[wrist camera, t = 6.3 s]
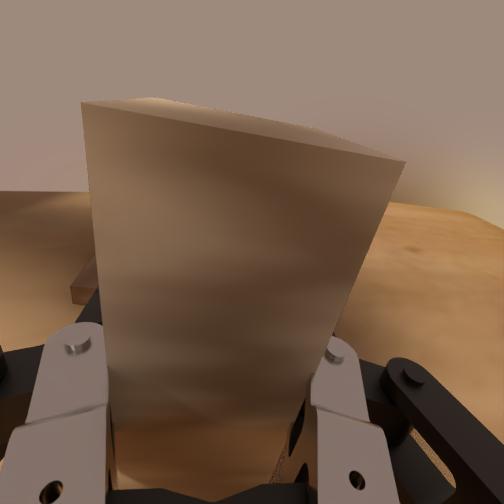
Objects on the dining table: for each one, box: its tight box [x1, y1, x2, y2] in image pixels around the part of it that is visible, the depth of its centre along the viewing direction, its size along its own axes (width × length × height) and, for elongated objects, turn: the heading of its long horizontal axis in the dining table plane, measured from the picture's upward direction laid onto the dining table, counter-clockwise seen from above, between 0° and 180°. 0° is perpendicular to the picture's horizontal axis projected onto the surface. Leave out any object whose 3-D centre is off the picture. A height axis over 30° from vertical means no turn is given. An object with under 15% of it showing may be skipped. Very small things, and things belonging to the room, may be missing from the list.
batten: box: [81, 98, 406, 502], centre depth 9 cm, size 4×4×14 cm
